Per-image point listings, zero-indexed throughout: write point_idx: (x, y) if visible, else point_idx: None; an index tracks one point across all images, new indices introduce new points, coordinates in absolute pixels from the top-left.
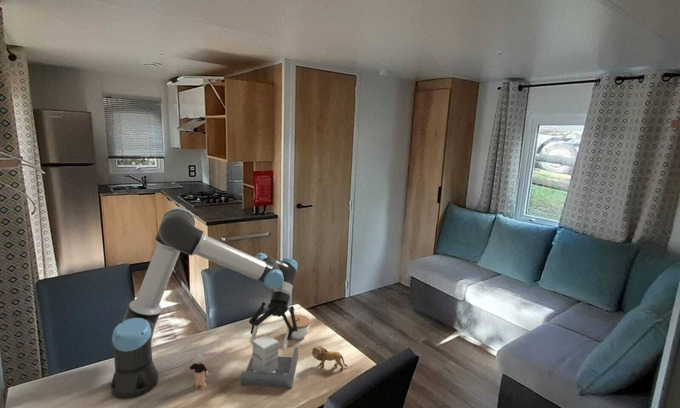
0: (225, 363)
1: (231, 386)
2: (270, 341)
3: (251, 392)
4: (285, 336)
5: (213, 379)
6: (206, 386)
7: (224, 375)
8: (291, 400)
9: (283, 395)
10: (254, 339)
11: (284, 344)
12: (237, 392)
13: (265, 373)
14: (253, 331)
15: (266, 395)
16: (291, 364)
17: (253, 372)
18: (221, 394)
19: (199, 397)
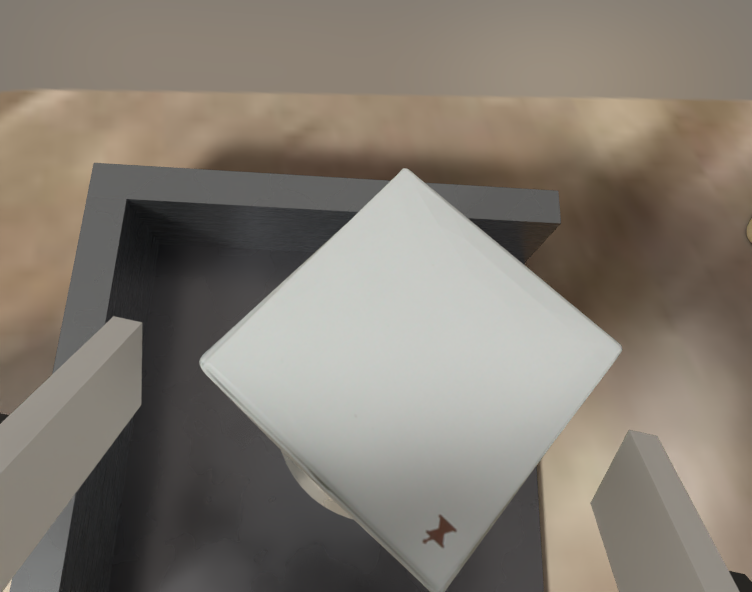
0: (744, 503)
1: (582, 230)
2: (331, 340)
3: (426, 176)
4: (39, 425)
5: (738, 298)
6: (747, 226)
7: (681, 345)
8: (139, 107)
9: (197, 149)
10: (612, 541)
11: (101, 340)
12: (520, 176)
13: (344, 194)
14: (719, 575)
15: (317, 149)
16: (96, 326)
17: (454, 205)
18: (616, 159)
19: (736, 136)
